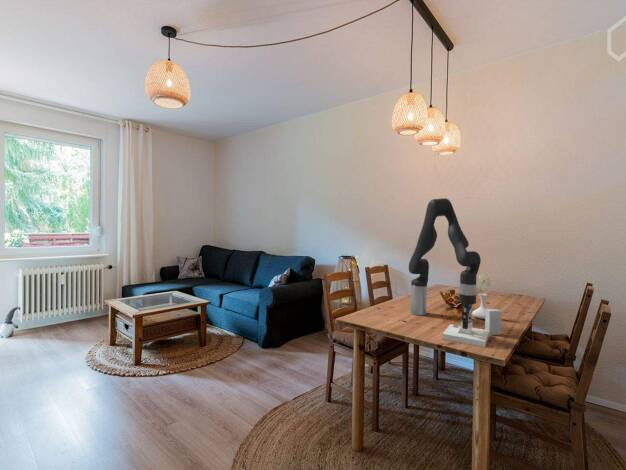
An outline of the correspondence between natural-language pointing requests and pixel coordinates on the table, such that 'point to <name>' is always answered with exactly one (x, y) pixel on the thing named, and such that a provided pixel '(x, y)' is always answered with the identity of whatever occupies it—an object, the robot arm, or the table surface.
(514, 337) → the table surface
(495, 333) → the skincare box
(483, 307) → the flower in vase
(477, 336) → the socket plate
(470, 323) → the plug
